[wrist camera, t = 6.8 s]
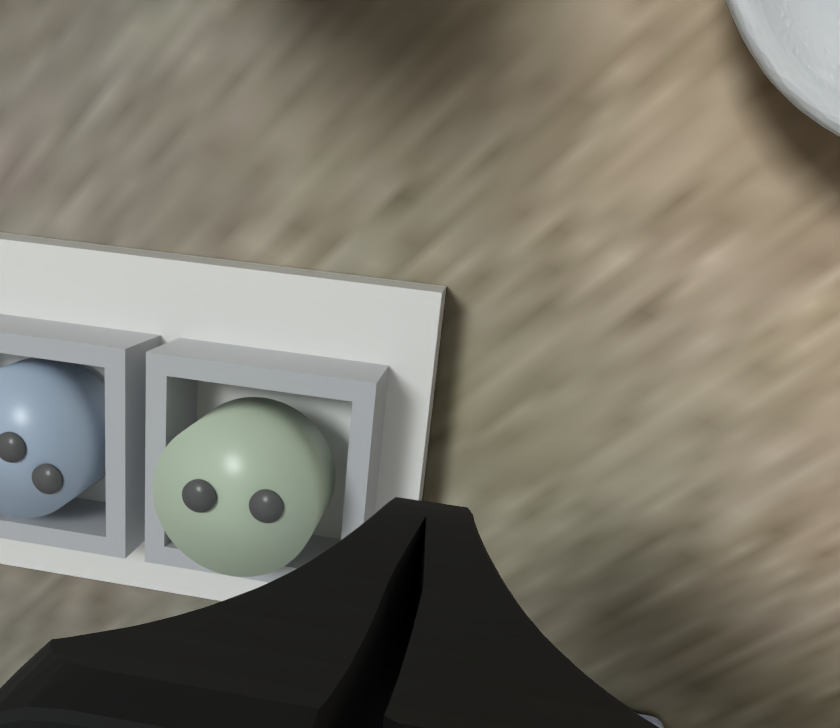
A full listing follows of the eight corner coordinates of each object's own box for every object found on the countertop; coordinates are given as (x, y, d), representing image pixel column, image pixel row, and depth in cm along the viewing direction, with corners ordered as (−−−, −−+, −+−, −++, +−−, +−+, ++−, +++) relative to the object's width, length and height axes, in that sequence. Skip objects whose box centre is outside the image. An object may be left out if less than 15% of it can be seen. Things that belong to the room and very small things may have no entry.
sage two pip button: (329, 551, 20) (309, 591, 18) (185, 528, 20) (149, 564, 18) (341, 408, 19) (320, 433, 17) (188, 387, 19) (151, 408, 17)
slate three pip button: (122, 499, 22) (83, 530, 20) (-6, 479, 22) (-58, 507, 20) (122, 365, 21) (81, 383, 19) (-13, 346, 21) (-69, 362, 19)
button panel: (410, 604, 24) (393, 673, 20) (-198, 504, 26) (-304, 551, 22) (446, 286, 21) (434, 303, 17) (-236, 203, 23) (-364, 204, 20)
